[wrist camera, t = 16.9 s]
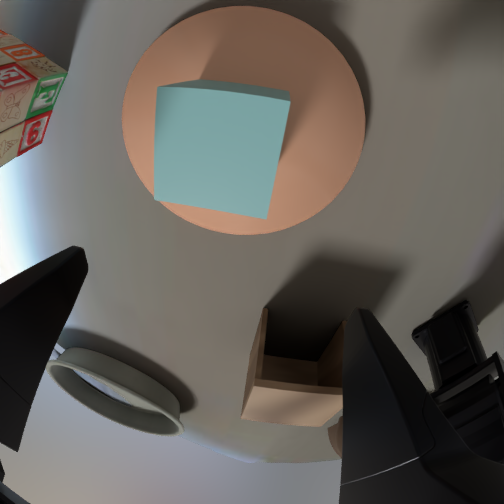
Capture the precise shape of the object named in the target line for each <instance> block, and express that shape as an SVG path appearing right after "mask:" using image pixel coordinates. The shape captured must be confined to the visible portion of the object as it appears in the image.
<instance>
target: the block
mask: <svg viewBox="0 0 504 504" xmlns="http://www.w3.org/2000/svg"><path fill="white" fill-rule="evenodd" d="M290 102H291V101H290V94H289V91H285V90H280V89H274V88H268V87H262V86H256V85H249V84H242V83H234V82H225V81H214V80H202V79H198V80H192V81H185V82H179V83H174V84H169V85H163V86H159V87H157V96H156V112H155V134H154V200H158V201H164V202H170V203H176V204H182V205H188V206H194V207H200V208H206V209H212V210H217V211H223V212H229V213H234V214H240V215H245V216H250V217H256V218H261V219H267V214H268V210H269V205H270V200H271V195H272V190H273V186H274V181H275V176H276V171H277V166H278V161H279V157H280V152H281V147H282V142H283V137H284V132H285V127H286V122H287V117H288V112H289V107H290Z"/></svg>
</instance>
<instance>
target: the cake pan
mask: <svg viewBox="0 0 504 504" xmlns="http://www.w3.org/2000/svg"><path fill="white" fill-rule="evenodd" d="M72 369H74V370H77V371H79V372H82V373H84V374H87V375H89V376H90V377H92V378H93V379H95V380H96V381H98V382H100V383H102V384H104V385H106V386H108V387H109V388H111V389H112V390H113V391H115V392H116V393H118V394H119V395H120V396H122V397H123V398H125V399H126V400H127V401H128V402H129V403H130V404H131V405H132V407H129V406H127V405H124V404H121V403H119V402H117V401H115V400H114V399H112V398H111V397H109V396H108V395H106V394H105V393H103V392H102V391H100V390H99V389H97V388H96V387H94V386H93V385H91V384H90V383H88V382H87V381H85V380H84V379H83V378H81V377H80V376H78V375H77V374H76V373H75V372H74V371H73V370H72ZM46 370H47V372H48V374H49V375H50V377H51V378H52V379H53V380H54V382H55V383H56V384H57V385H58V386H59V387H60V388H61V389H62V390H64V391H65V392H66V393H67V394H68V395H70V396H71V397H73V398H74V399H75V400H77V401H78V402H79V403H81V404H82V405H84V406H86V407H87V408H89V409H90V410H92V411H94V412H95V413H98V414H99V415H101V416H103V417H105V418H107V419H109V420H111V421H114V422H116V423H118V424H121V425H123V426H126V427H129V428H132V429H135V430H138V431H142V432H145V433H149V434H154V435H160V436H178V435H181V434H182V433H183V432H184V426H183V425H182V423H181V422H180V421H179V418H180V404H179V401H178V400H177V398H176V397H175V396H174V395H173V394H172V393H171V392H170V391H169V390H168V389H166V388H165V387H164V386H163V385H161V384H160V383H158V382H157V381H155V380H154V379H152V378H151V377H149V376H147V375H145V374H144V373H142V372H140V371H138V370H136V369H135V368H133V367H131V366H129V365H127V364H125V363H123V362H120V361H118V360H116V359H114V358H111V357H109V356H107V355H104V354H101V353H98V352H95V351H92V350H88V349H84V348H78V347H72V348H68V349H66V350H65V351H64V352H63V353H62V354H61V355H60V356H59V357H58V358H57V359H56V360H49V361H48V363H47V365H46Z"/></svg>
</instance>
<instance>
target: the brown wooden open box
mask: <svg viewBox="0 0 504 504" xmlns="http://www.w3.org/2000/svg"><path fill="white" fill-rule="evenodd" d="M267 316H268V309H266V308H263V311H262V315H261V318H260V322H259V325H258V329H257V332H256V336H255V339H254V343H253V346H252V350H251V353H250V359H249V366H248V373H247V379H246V386H245V393H244V400H243V406H242V413H241V419H246V420H253V421H260V422H268V423H277V424H287V425H299V426H316V427H321V426H322V425H323V424H324V423H325V422H327V421H328V420H329V419H330V418H331V417H333V416H334V415H335V414H336V413H337V412H338V411H339V410H341V409H342V408H343V395H342V363H343V348H344V330H345V325H346V323H347V321H342V323H341V325H340V326H339V328H338V330H337V331H336V333H335V335H334V336H333V338H332V339H331V341H330V343H329V344H328V346H327V347H326V349H325V351H324V352H323V354H322V355H321V357H320V358H319V360H318V361H317V362H313V361H305V360H297V359H290V358H282V357H276V356H269V355H264V345H265V336H266V326H267Z"/></svg>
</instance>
